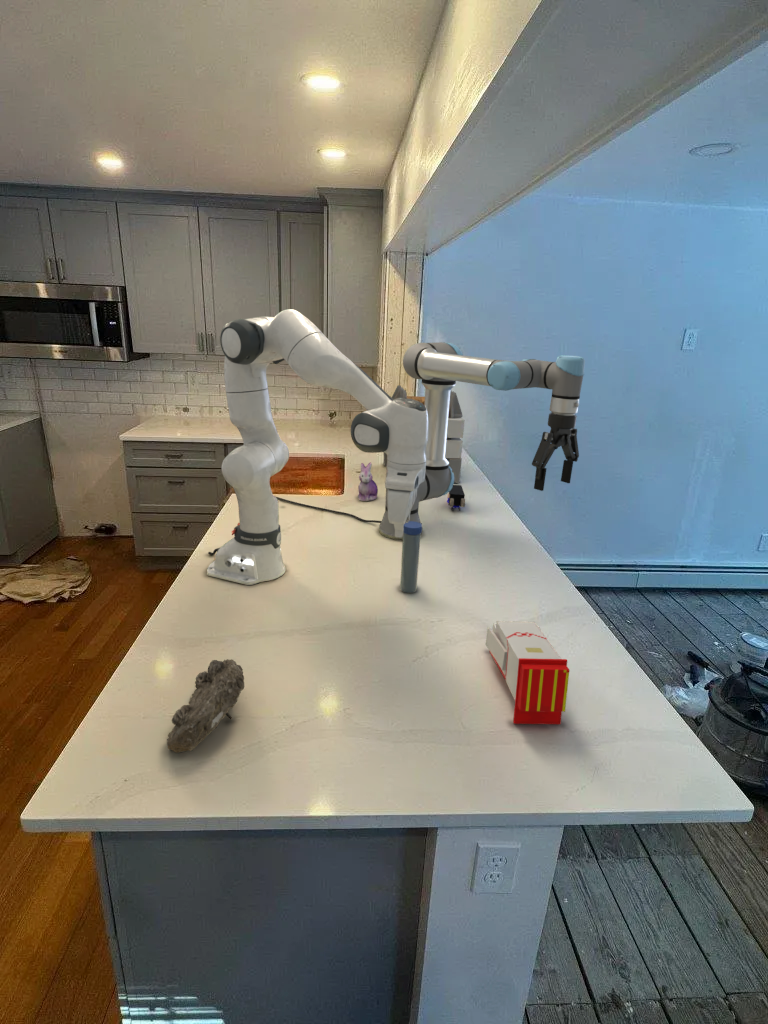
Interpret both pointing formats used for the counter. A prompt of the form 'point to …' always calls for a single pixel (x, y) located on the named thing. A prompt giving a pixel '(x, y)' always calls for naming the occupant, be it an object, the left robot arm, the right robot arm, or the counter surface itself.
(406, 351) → the right robot arm
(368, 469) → the figurine
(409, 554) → the grey long cylinder
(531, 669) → the toy
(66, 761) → the counter surface
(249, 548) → the left robot arm
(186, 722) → the fossil
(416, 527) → the lid
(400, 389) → the transformer
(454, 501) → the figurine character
